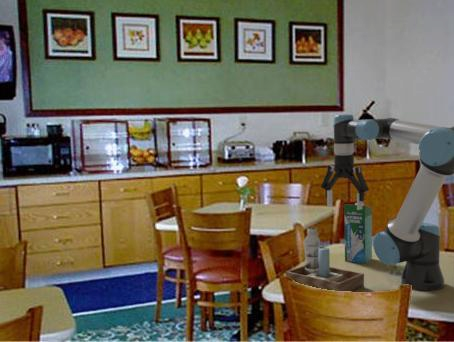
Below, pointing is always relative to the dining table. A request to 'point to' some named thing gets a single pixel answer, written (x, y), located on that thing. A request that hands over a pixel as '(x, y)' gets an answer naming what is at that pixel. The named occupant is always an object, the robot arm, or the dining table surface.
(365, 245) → the milk carton
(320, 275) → the peg
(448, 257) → the dining table surface
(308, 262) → the plastic bottle
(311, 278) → the tray
